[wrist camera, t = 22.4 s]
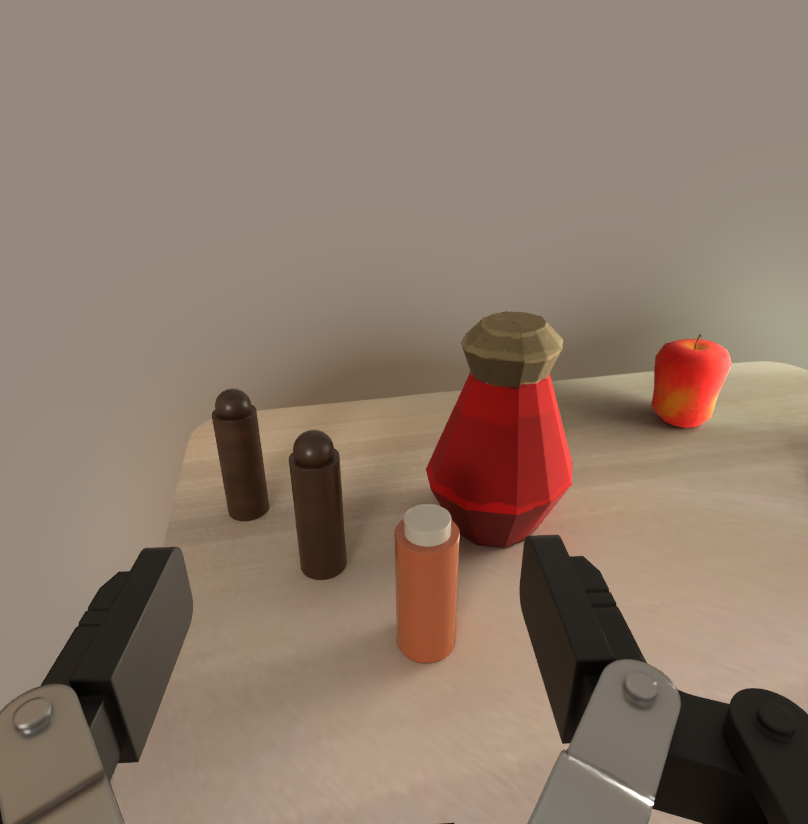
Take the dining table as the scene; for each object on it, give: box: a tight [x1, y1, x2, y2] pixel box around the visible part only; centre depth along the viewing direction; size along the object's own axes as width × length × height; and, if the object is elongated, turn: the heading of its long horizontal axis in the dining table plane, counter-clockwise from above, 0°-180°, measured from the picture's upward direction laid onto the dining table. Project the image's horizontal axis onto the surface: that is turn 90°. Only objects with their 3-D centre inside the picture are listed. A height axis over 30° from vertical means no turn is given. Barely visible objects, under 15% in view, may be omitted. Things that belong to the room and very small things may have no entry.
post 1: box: [212, 389, 269, 521], centre depth 55 cm, size 4×4×13 cm
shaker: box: [395, 504, 460, 663], centre depth 41 cm, size 4×4×11 cm
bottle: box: [426, 312, 572, 548], centre depth 52 cm, size 16×14×20 cm
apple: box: [652, 335, 731, 428], centre depth 73 cm, size 9×8×12 cm
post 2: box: [289, 430, 346, 580], centre depth 48 cm, size 4×4×13 cm
